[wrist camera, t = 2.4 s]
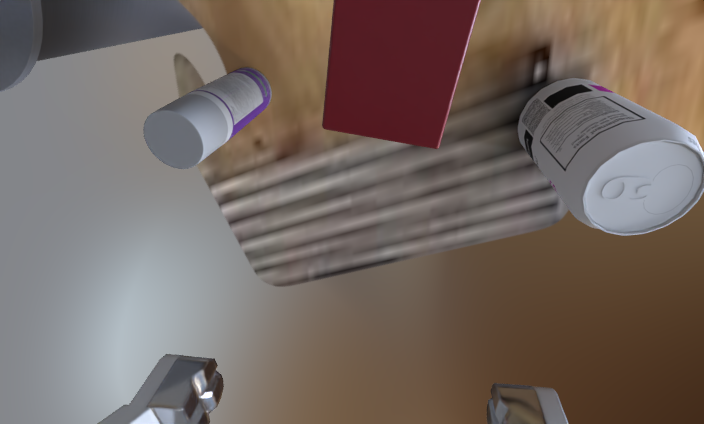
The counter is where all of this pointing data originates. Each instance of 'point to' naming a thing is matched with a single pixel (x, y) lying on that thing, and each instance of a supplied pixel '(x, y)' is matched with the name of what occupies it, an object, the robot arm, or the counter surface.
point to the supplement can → (611, 157)
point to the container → (206, 117)
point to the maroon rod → (396, 67)
